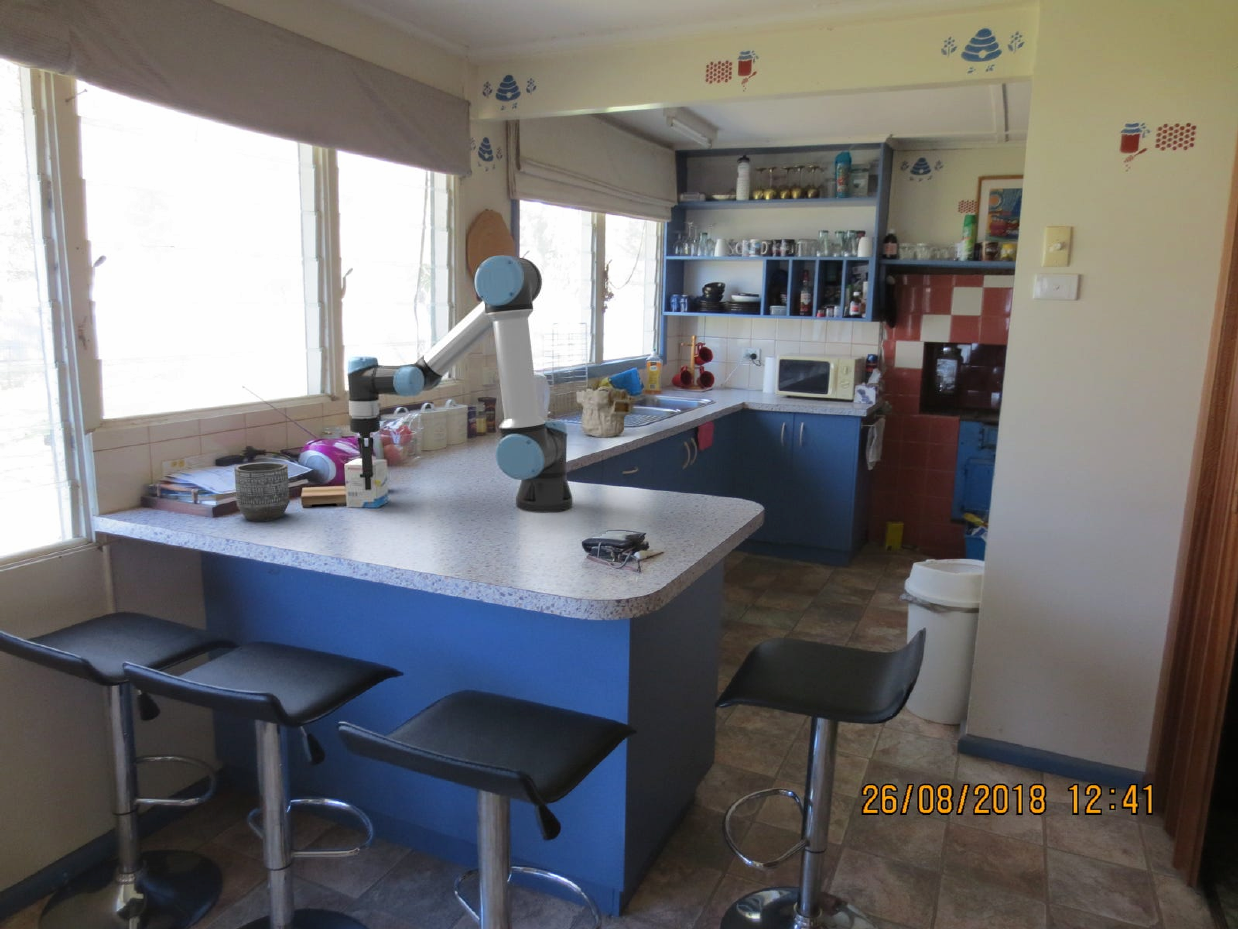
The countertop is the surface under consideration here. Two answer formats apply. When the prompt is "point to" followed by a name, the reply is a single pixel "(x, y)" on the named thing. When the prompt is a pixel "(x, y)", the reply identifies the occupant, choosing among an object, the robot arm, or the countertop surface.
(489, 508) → the countertop surface
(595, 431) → the ceramic vessel
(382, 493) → the ink box
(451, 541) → the countertop surface
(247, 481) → the planter
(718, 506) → the countertop surface
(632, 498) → the countertop surface
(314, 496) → the riser
